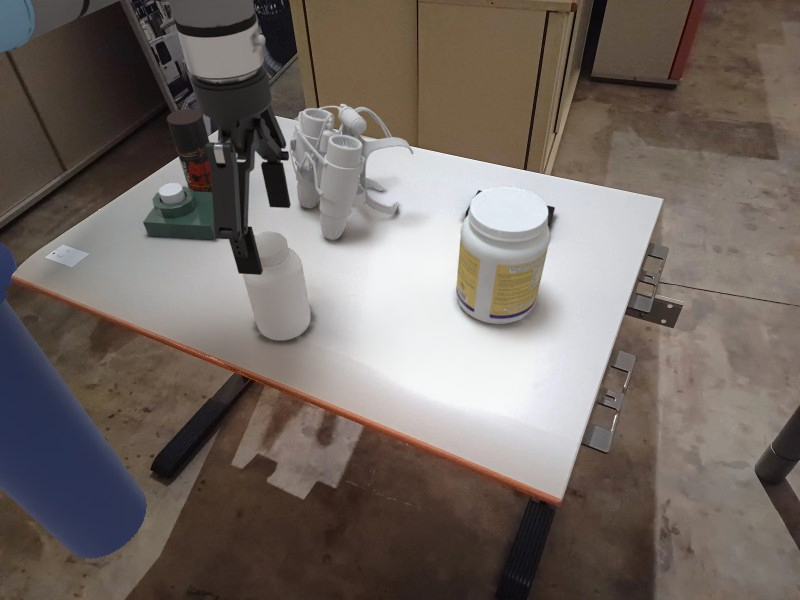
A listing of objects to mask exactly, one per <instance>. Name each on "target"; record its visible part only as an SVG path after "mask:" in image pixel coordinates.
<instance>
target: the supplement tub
mask: <svg viewBox="0 0 800 600" xmlns="http://www.w3.org/2000/svg"><path fill="white" fill-rule="evenodd" d="M481 191H482V192H480V193H479V194H477V195H476V194H475V195H476V196H475V195H474V197H473V198H472V200H471V201H470V203H469V206H470V209H469V212H468V216H467V217H466V218H465V217H464V220H463V221H462V225H461V228H460V232H459V233H460V234H459V235H460V237H459V239H460V240H459V250H458V264H457V266H458V267H457V277H456V287H455V294H456V297H457V298H456V299H457V301H458V303H459V305H460V307H461V309H462V310H463V311H464V312H465V313H466V314H467V315H468V316H471V318H474V319H476V320H478V321H481V322H484V323H488V324H492V325H493V324H495V325H505V324H511V323H515V322H518V321H520V320H522V319H524V318H525V317H526V316H528V315H529V314H530V313H531V312H532V310H533V309H534V307H535V305H536V303H537V300H538V295H539V294H538V293H539V290H540V286H541V285H540V284H541V281H542V276H543V272H544V267H545V263H546V260H547V259H546V258H547V254H548V250H549V246H550V242H551V231H550V227H549V228H548V225H547V224H548V208H547V204H546V202H545V201H544V200H543V198H541V197H540V196H539V195H537V194H535V193H533V192H531V191H528V190H527V189H523V188H519V187H515V186H496V187H490V188H487V189H484V190H481Z"/></svg>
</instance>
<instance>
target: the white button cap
mask: <svg viewBox="0 0 800 600" xmlns="http://www.w3.org/2000/svg"><path fill="white" fill-rule="evenodd" d="M182 186H183V185H182V184H181V183H179V182H170V183H169V182H168V183H166V184H164V185H162V186H160V187H159V189H158V192H159V195H160V197H161V200H162V202H163V203H164V204H167V205H173V204H177V203H180V202H182V201H183V200H185V198H186V196H185V193H184V190H183V187H182Z"/></svg>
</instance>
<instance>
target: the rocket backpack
mask: <svg viewBox="0 0 800 600" xmlns="http://www.w3.org/2000/svg"><path fill="white" fill-rule="evenodd" d="M326 109H337V111H338V120H339V122H340V123H341V124H340V126H339V127H338V128H339V129H337V131H336V130H334V129H335V115H334V113H332V112H330V111H328V110H326ZM360 112H365V113H367V114H369V115H370V116H371V118H372V119H373V120H374V121H375V123H377V125H379V126H380V127H381V129H382V131H383V133H384V135H385V137H384V138H379V139H375V140H371V141H367V140H365V139H364V138H363V137H362V136H361V135H363V134H364V133H365V132H366V130H367V128H368V127H367V126H368V125H367V121H366V120H365V118H364V117H362V116H361V115H360V114H359V113H360ZM393 147H402V148H406V149H408V150H409V151H410V154H411V155H415V154H414V151H413V149H412V147H411V145H410V144H409V142H408V141H407V140H405V139H404V138H400V137H394V136H393V135H391V132H390V131H389V129H388V128H387V126H386V125H385V123H384V122H383V120H382V119H381V118H380V117H379V116H378V115H377V114H376V113H375V112H374V111H373V110H371V109H370V108H367V107H365V106H358V107H356V108H353V107H351V106H348V105H347V104H346V103H340V105H339V106H338V105H325V106H322V107H318V108H317V107H309V108H305V109H304V110H300V111H299V112H298V124H294V130H293V136H292V139H290V140H289V155H290V160H291V165H292V168H293V172H294V173H295V179H296V181H297V183H296V184H297V185H296V191H297V192H296V193H297V198H298V199H297V200H298V201H299V205H300V206H302V207H303V208H305V209H312V208H315V207H316V206H317V205H318V203H319V211H320V216H319V219H320V220H319V221H320V229H321V232H322V235H323V237H325V238H326V239H328V240H333V241H334V240H338V239H339V238H340V237H341V236H342V234H343V233H344V231H345V229H346V227H347V224H348V221H349V216H351V214H352V210H353V208H357V207H361V206H364V204H365V205H366V206H367V207H369V208H371V209H372V210H374V211H376V212H378V213H381V214H385V215H393V214H395V213H396V211H397V208H398V207H399V202H398V201H395V203H394V206H389V205H385V204H383V203H381V202H378V201H376V200H375V199H373V198H372V197H371V196H370V195H369V194H368V189H367V188H368V187H370V188H372V189H374V190H376V191H377V192H382V191H384V187H383V185H382V184H381V183H379V182H378V181H376V180H374V179H371V178H369V177H367V176H366V175H367V174H366V173H367V172H366V171H367V162H368V158H369V156H370V155H371V154H372V153H373V152H375V151H378V150H381V149H386V148H393ZM367 186H368V187H367Z"/></svg>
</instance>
